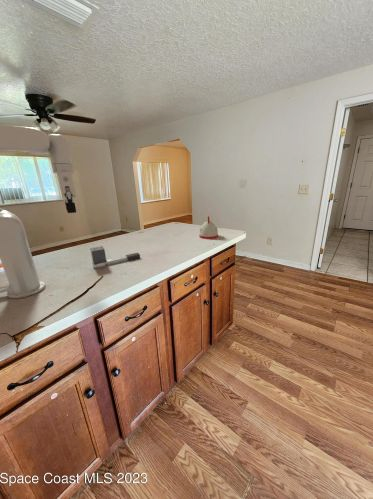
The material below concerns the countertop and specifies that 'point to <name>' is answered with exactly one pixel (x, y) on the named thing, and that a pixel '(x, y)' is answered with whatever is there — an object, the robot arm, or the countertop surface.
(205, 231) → the grey bell
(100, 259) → the socket
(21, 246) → the robot arm
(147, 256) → the countertop surface
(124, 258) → the ratchet
